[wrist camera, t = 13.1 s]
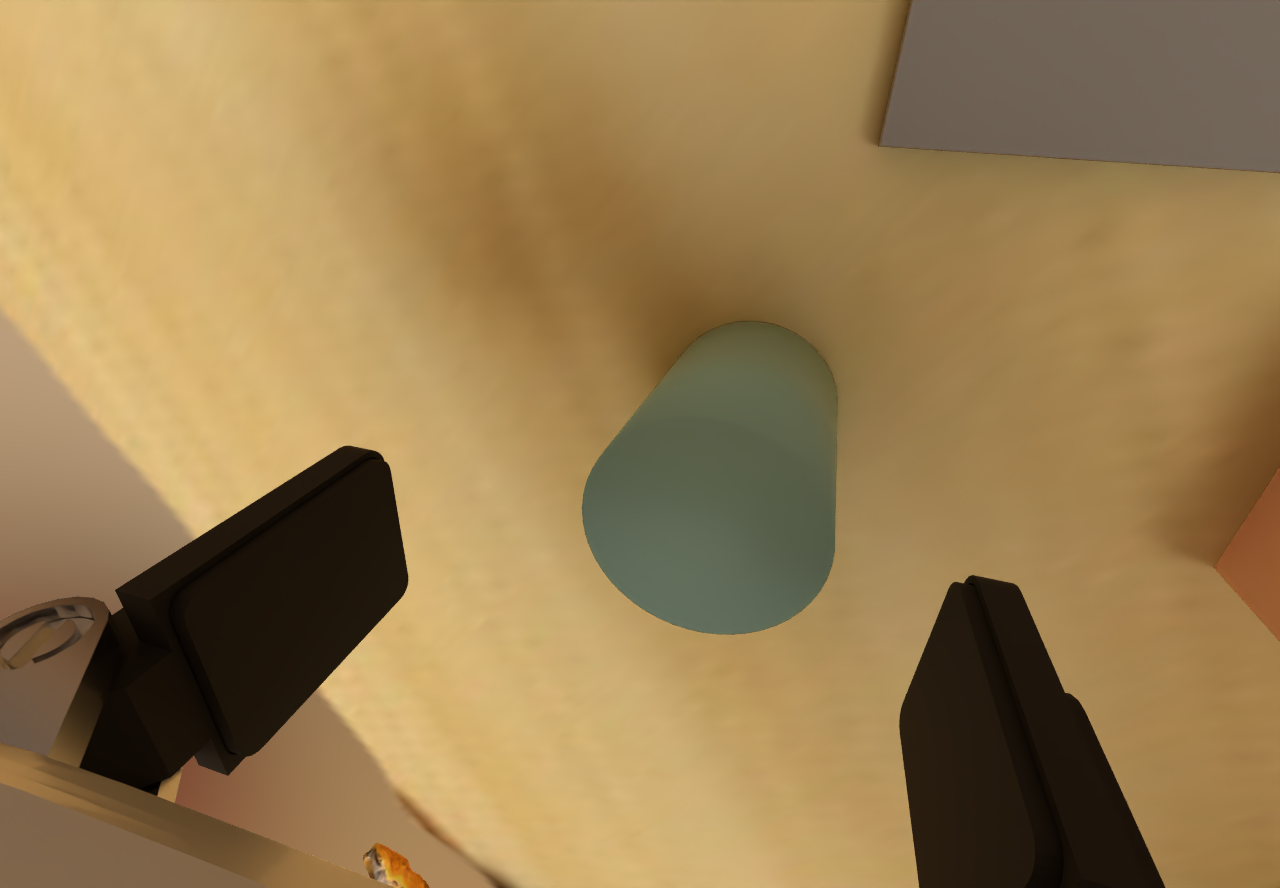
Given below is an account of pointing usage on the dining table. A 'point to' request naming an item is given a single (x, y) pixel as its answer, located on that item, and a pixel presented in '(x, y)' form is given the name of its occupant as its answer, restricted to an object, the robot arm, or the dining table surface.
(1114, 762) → the dining table surface
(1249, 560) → the block
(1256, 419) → the dining table surface
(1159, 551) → the dining table surface
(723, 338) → the cylinder
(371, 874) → the black and orange piece
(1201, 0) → the board
